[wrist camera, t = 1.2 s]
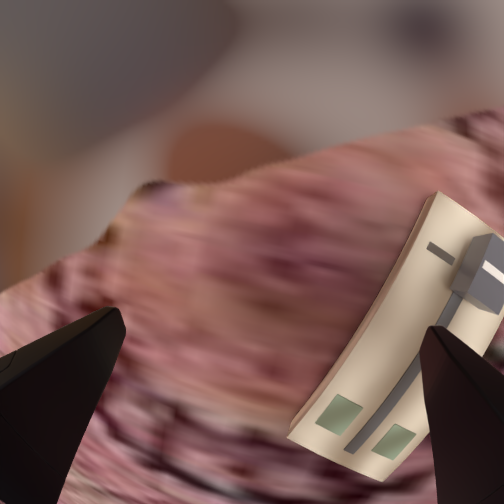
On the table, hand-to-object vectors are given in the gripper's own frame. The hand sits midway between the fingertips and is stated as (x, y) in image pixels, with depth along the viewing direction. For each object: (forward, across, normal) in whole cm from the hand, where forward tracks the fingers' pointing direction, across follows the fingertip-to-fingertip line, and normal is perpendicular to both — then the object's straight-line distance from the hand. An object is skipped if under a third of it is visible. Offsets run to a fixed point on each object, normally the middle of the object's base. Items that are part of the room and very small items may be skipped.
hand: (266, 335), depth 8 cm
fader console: (+12, -10, +11) cm, 19 cm away
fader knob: (+11, -13, +4) cm, 18 cm away
